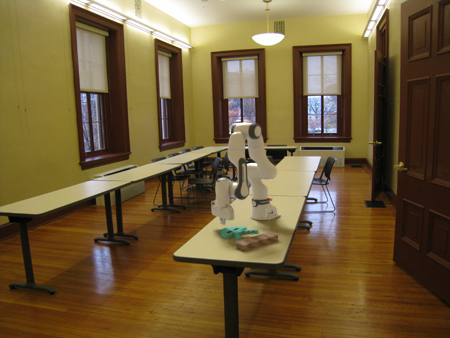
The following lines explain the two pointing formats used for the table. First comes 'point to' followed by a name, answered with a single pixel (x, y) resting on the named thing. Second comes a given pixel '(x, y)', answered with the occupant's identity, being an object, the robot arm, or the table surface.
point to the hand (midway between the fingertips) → (223, 224)
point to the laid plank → (256, 241)
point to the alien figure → (235, 232)
